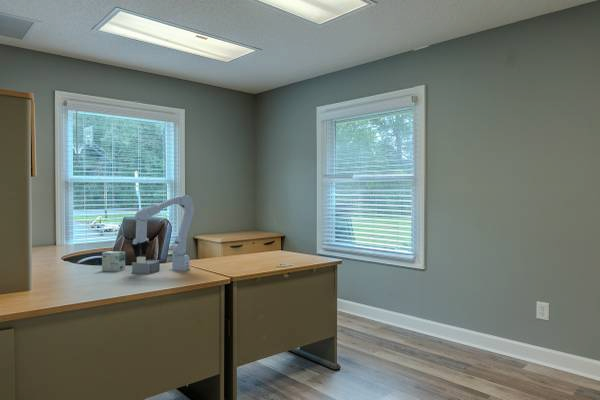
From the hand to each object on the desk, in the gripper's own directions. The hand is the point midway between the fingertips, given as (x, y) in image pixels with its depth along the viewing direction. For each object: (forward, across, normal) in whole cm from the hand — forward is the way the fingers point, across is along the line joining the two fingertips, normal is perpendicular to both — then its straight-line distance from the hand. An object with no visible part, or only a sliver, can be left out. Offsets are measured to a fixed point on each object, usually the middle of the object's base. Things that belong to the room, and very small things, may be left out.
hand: (140, 255), depth 236 cm
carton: (+10, -3, +2) cm, 10 cm away
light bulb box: (+10, -4, -18) cm, 21 cm away
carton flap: (+9, +2, +2) cm, 10 cm away
